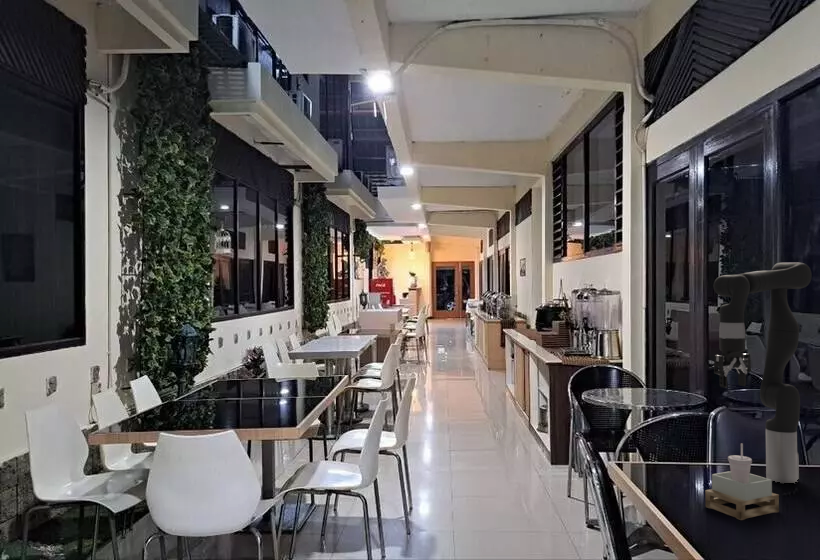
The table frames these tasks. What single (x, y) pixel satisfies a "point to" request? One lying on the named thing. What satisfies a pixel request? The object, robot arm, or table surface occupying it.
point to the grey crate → (742, 486)
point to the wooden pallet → (741, 504)
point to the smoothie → (740, 467)
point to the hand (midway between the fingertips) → (732, 386)
